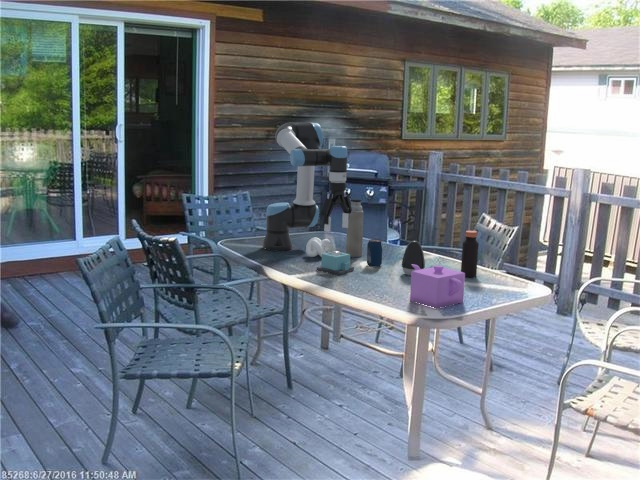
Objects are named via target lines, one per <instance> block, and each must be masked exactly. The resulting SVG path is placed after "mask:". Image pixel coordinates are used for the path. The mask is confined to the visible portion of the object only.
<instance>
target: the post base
mask: <svg viewBox="0 0 640 480" xmlns="http://www.w3.org/2000/svg"><path fill="white" fill-rule="evenodd" d="M330 252H331V255H334V256H339V255H340V252H341V251H339V250H332V251H330ZM321 266H322V265H320V266H316V271H317V270H318V271H317V272H321V271H323V272H322V273H326V272H328V273H327V274H331V273H332V275H336V274H337V275H338V276H340V275H343V274H346V273H350V272H353V271H354V270H355V267H354V266H351V265H350V268H349V270H342V269H341V270H332V269H328V268H324V267H321ZM339 274H340V275H339Z"/></svg>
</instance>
